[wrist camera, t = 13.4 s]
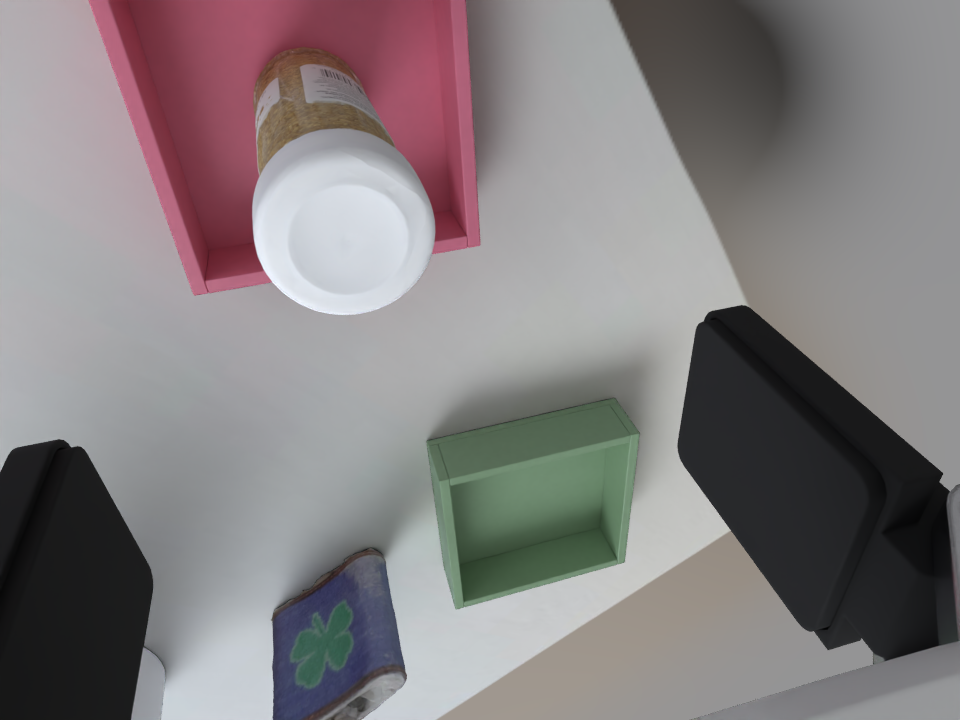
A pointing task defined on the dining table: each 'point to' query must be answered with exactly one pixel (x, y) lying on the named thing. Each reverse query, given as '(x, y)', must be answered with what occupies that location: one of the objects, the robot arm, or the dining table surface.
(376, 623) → the flask
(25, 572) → the robot arm
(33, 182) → the dining table surface
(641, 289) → the dining table surface
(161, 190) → the pink bin
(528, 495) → the green bin
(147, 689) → the tall pillar cylinder
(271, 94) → the sprinkles bottle
